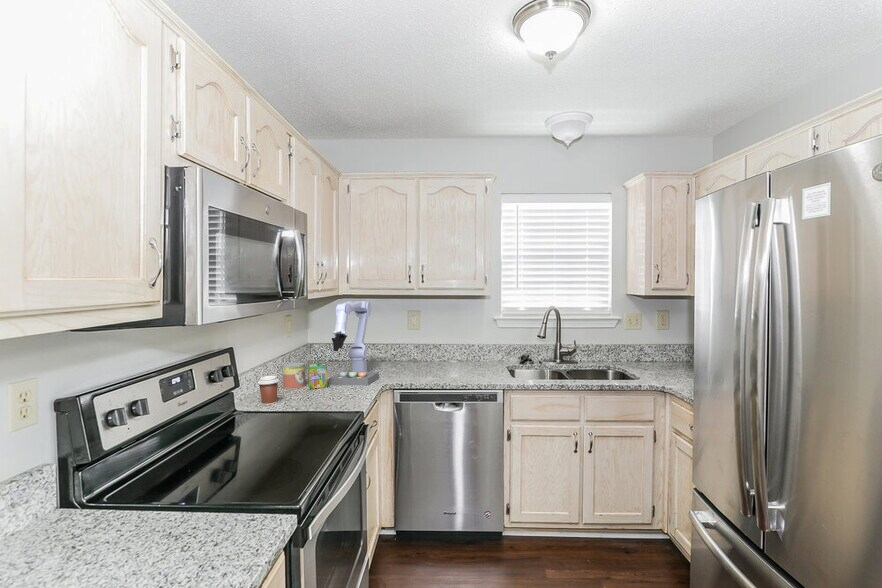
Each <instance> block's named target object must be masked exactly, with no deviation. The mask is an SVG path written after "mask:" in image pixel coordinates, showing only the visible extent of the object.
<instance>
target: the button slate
mask: <svg viewBox="0 0 882 588" xmlns="http://www.w3.org/2000/svg"><path fill="white" fill-rule="evenodd" d="M347 372H348V371H339V373H340V377H347Z"/></svg>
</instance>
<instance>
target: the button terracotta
mask: <svg viewBox="0 0 882 588" xmlns="http://www.w3.org/2000/svg"><path fill="white" fill-rule="evenodd" d="M359 377H366V372H359Z"/></svg>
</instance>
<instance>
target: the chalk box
mask: <svg viewBox="0 0 882 588" xmlns="http://www.w3.org/2000/svg"><path fill="white" fill-rule="evenodd" d="M320 360H321V359H320V358H317V362H316V363H309V364H307V381H308V382H307V386H308V389H309V390H315V388H317V389H325V388H326V387H327V388H328V386H329V385H328V367H327V364H326V363H325V362H324V363H323V362H322V363H320Z"/></svg>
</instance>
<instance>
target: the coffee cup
mask: <svg viewBox="0 0 882 588" xmlns="http://www.w3.org/2000/svg"><path fill="white" fill-rule="evenodd" d="M277 377H278V376H277V375H266V376H265V375H264V376H261V377H260V378H259V381H257V385H259V391H260V401H261V405H262V404H263V405H262V406H270V405H269V404H272V405H275V404H274V403H276V402H277V403H278V388H279V386H278V385H279V384H278V383H279V382H280V379H278V378H277ZM277 403H276V404H277Z"/></svg>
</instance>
